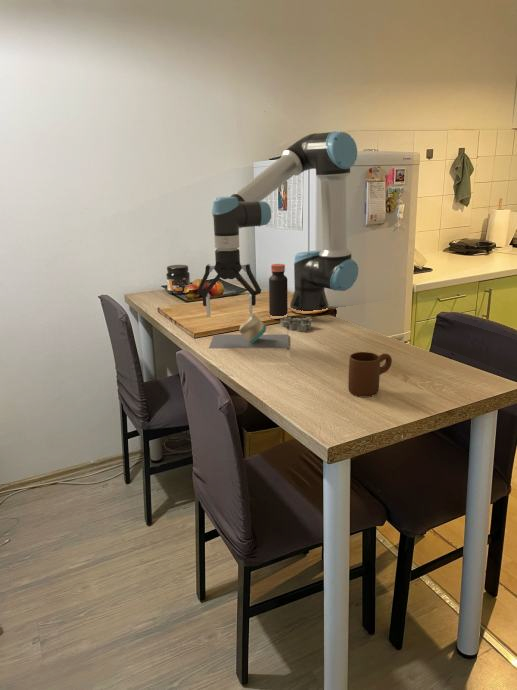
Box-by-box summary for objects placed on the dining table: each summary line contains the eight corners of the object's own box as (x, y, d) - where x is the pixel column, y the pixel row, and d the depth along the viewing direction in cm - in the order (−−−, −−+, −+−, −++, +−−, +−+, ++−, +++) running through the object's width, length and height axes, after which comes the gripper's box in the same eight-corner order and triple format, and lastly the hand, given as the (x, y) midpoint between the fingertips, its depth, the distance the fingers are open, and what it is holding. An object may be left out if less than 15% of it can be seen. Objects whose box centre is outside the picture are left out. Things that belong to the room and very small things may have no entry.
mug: (380, 381, 143) (382, 347, 140) (399, 391, 137) (401, 355, 134) (342, 389, 138) (343, 354, 135) (359, 400, 132) (361, 363, 129)
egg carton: (314, 328, 191) (314, 317, 190) (301, 333, 185) (301, 322, 184) (290, 323, 198) (290, 312, 196) (277, 328, 192) (277, 317, 191)
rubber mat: (288, 336, 182) (288, 334, 182) (288, 349, 169) (288, 347, 169) (214, 336, 183) (214, 334, 183) (208, 349, 170) (208, 348, 170)
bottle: (267, 319, 202) (266, 266, 196) (272, 315, 208) (271, 263, 202) (285, 320, 200) (284, 266, 194) (289, 316, 206) (289, 263, 200)
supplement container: (163, 294, 246) (161, 268, 242) (174, 289, 255) (172, 264, 252) (184, 295, 243) (182, 268, 239) (194, 290, 252) (193, 264, 248)
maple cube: (240, 325, 178) (253, 338, 179) (238, 330, 172) (252, 343, 173) (253, 313, 176) (266, 326, 177) (252, 318, 170) (265, 331, 172)
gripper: (184, 251, 164) (189, 319, 171) (267, 250, 163) (268, 318, 169) (189, 247, 171) (193, 312, 178) (268, 246, 170) (269, 312, 176)
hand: (229, 315), depth 174 cm, fingers open, 13 cm apart
